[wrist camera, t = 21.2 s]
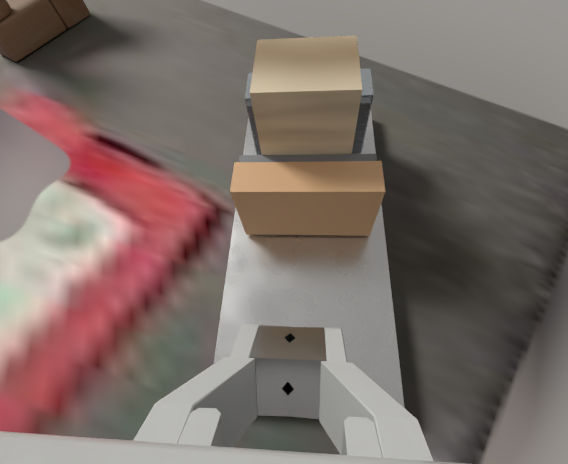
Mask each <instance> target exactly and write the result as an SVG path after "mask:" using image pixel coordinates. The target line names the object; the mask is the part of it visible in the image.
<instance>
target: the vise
mask: <svg viewBox="0 0 568 464" xmlns="http://www.w3.org/2000/svg"><path fill="white" fill-rule="evenodd" d="M360 72H361V82H362V94H361V100H360V106H359V112H358V119H357V125H356V131H355V137H354V143H353V149H352V154H376V151H375V142H374V133H373V125H372V116H371V105H372V100H373V87H372V79H371V70H370V69H360ZM251 80H252V73H248V80H247V86H246V92H245V103H246V108H247V112H248V125H247V132H246V139H245V146H244V153H243V155H262V154H261V149H260V144H259V139H258V133H257V128H256V123H255V118H254V113H253V108H252V103H251V97H250V87H251ZM243 324H258V325H275V326H291V327H340V328H341V329H342V333H343V339H344V345H345V350H346V356H347V362H348V363H353V364H355V365H356V366H357V367H358V368H359V369H360V370H361V371H363V372H364V373H365V374H366V375H367V376H368V377H369V378H371V379H372V380H373V381H374V382H375V383H376V384H377V385H379V386H380V387H381V388H382V389H383V390H384V391H385V392H387V393H388V394H389V395H390V396H391V397H392V398H393V399H395V400H396V401H397V402H398V403H399V404H400V405H401V406H403V407H404V398H403V390H402V381H401V372H400V363H399V354H398V345H397V337H396V328H395V319H394V310H393V301H392V292H391V284H390V275H389V266H388V257H387V248H386V239H385V231H384V222H383V213H382V204H381V205H380V208H379V211H378V214H377V217H376V220H375V222H374V225H373V228H372V231H371V234H370V236H352V235H247V234H246V233H245V231H244V228H243V225H242V223H241V220H240V217H239V215H238V212H237V209H235V216H234V223H233V230H232V237H231V245H230V252H229V259H228V266H227V273H226V280H225V287H224V294H223V301H222V308H221V315H220V322H219V329H218V336H217V343H216V350H215V357H214V364H215V363H216V362H218V361H219V360H221V359H222V358H224V357H230V355H231V352H232V350H233V347H234V344H235V341H236V339H237V336H238V333H239V331H240V328H241V326H242V325H243ZM404 408H405V407H404Z"/></svg>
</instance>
